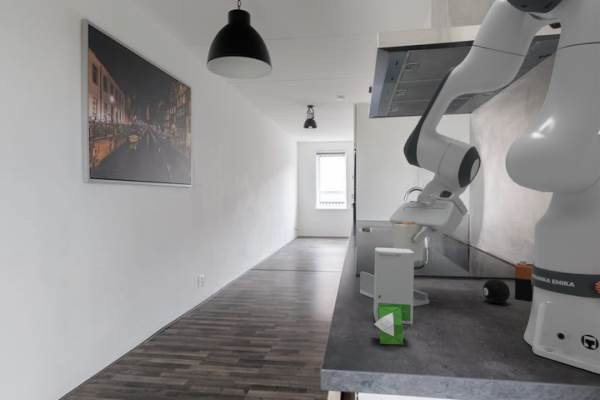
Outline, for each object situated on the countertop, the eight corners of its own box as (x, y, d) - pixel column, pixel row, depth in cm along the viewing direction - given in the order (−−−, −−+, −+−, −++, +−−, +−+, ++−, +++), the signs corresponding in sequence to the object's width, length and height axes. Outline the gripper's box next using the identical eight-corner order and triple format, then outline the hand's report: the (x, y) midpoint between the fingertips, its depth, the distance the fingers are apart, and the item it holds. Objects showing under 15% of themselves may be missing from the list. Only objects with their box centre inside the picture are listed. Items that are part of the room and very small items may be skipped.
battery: (545, 303, 94) (545, 264, 94) (514, 299, 98) (514, 261, 98) (546, 299, 97) (546, 262, 97) (516, 295, 101) (516, 259, 101)
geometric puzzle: (369, 320, 75) (372, 295, 70) (404, 321, 74) (408, 296, 69) (372, 353, 69) (375, 329, 64) (409, 354, 69) (415, 330, 64)
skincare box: (374, 322, 80) (374, 251, 79) (373, 313, 86) (373, 246, 86) (414, 324, 78) (415, 251, 78) (410, 314, 85) (410, 247, 85)
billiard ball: (478, 299, 97) (478, 277, 97) (499, 299, 98) (499, 276, 98) (492, 306, 91) (492, 282, 91) (514, 305, 92) (515, 282, 92)
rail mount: (429, 303, 94) (429, 280, 94) (398, 308, 89) (398, 284, 89) (388, 289, 108) (388, 268, 108) (360, 293, 104) (360, 271, 104)
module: (423, 260, 93) (423, 222, 93) (404, 262, 90) (404, 223, 90) (411, 257, 96) (411, 221, 96) (393, 259, 94) (393, 222, 94)
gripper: (401, 193, 105) (373, 229, 101) (461, 193, 87) (430, 236, 83) (413, 208, 107) (386, 244, 103) (474, 211, 89) (444, 254, 85)
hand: (406, 240), depth 93 cm, fingers closed on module, 4 cm apart
